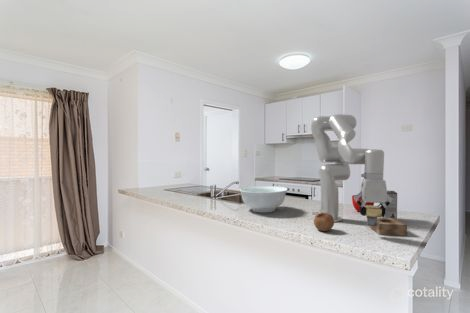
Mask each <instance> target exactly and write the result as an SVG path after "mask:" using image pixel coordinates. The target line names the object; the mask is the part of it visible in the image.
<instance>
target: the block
mask: <svg viewBox="0 0 470 313" xmlns="http://www.w3.org/2000/svg"><path fill="white" fill-rule="evenodd" d="M368 229H370V230H372V231H373V232H375V233H376V234H377V235H381V236H405V237H407V236H408V224H407V223H405V222H402V221H400V220H399V219H398V218H397V219H394V218H382V217H377V226H369V225H368Z"/></svg>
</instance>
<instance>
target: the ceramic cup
mask: <svg viewBox="0 0 470 313" xmlns="http://www.w3.org/2000/svg"><path fill="white" fill-rule="evenodd" d="M356 195H357V194H353V195H352V196H351V202H352V206H353V207H354V209H355V211H357V213H359V214H361V213H360V205H359V204H358V203H357V202H356V201H355V199H354V198H353V197H354V196H356ZM358 200H359V201H360V202H361V199H360V197H359V198H358ZM365 205H372V206H375V203H369V202H366V204H365ZM377 206H378V207H380V206H381V204H380V203H378V204H377Z"/></svg>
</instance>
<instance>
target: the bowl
mask: <svg viewBox="0 0 470 313" xmlns="http://www.w3.org/2000/svg"><path fill="white" fill-rule="evenodd" d="M239 192H240V193H241V199H242V201H243V203H244V204H245V205H246V206H248V207H249V208H251V210H252V212H255V213H262V214H263V213H266V214H267V213H273V212H275V211H276V209H277V208H279V207H280V206H281V205H282V204H283V203H284V201H285V198H286V194H287V192H288V188H287V187H282V186H271V185H254V186H253V185H252V186H243V187H240V188H239Z"/></svg>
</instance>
